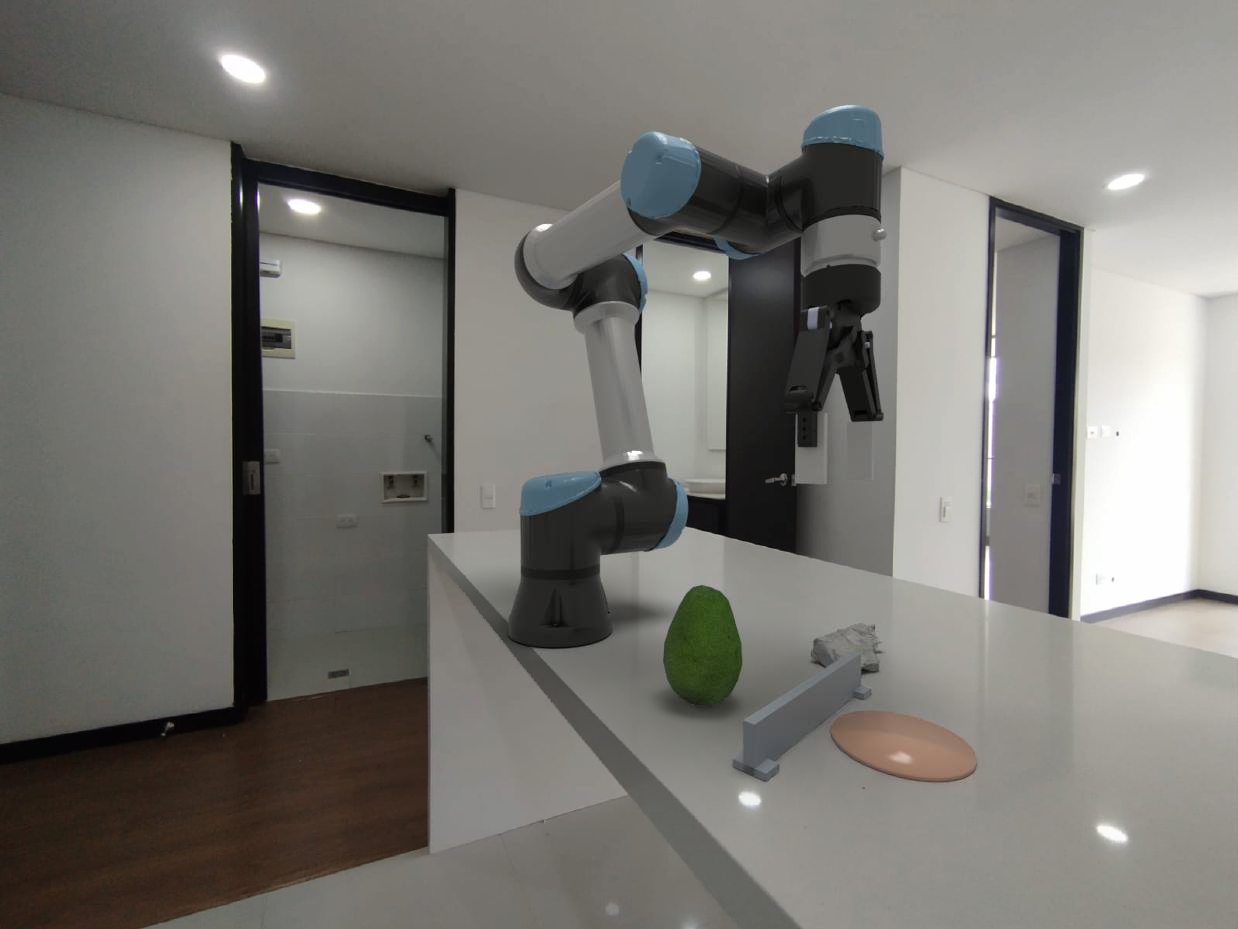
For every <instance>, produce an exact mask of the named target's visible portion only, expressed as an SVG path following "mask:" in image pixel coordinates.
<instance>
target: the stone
mask: <svg viewBox="0 0 1238 929" xmlns="http://www.w3.org/2000/svg"><path fill="white" fill-rule="evenodd" d="M875 629H876V623H872V624H864V623H863V622H861V623H854V624H852V625H850V626H847V627H846V628H841V629H840V628H839V629H837V630H836V631H834V632H831V633H828V634H824V635H823V636H819V637H817V638H814V639H813V642H812V644H813V645H812V649H811V650H810V657H811V658H812V659H813V660H815V661H818V662H819V664H821V665H822V666H824V668H826V667H828V666H829V665H831V664H832V663H834V662H836V661H837V660H839V659H840V658H842V657H843V656H845V655H847V654H848V653H850V652H851V651H852V652H857V653H861V670H864V671H868V672H879V668H880V660H879V657H878V656H877V655H876V653H877V652H879V645H880V644H881V645H882V643H883V641H884V639H882V638H880V637H878V636H876V632H875Z"/></svg>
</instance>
